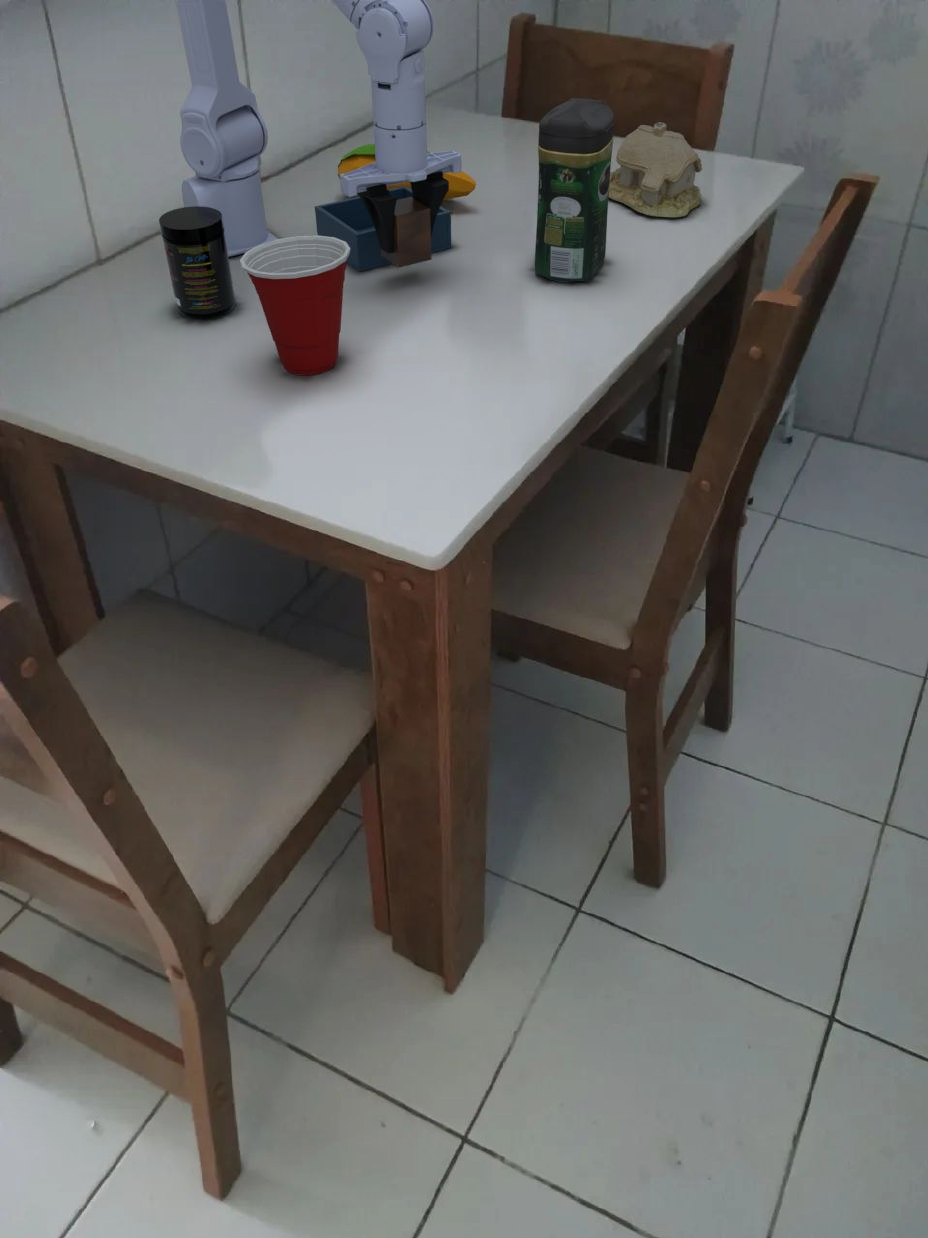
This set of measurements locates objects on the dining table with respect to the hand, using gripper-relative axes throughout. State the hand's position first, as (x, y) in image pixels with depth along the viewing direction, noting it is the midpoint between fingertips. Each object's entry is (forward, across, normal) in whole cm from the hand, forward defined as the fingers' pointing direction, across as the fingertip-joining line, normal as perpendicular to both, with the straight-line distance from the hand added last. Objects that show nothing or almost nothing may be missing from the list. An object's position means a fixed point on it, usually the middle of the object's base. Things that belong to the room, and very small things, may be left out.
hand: (405, 245), depth 124 cm
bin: (+4, +3, +11) cm, 12 cm away
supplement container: (+4, -23, +6) cm, 24 cm away
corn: (+4, +13, +22) cm, 26 cm away
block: (+1, 0, 0) cm, 1 cm away
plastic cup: (+4, -19, -12) cm, 23 cm away
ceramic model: (+4, +41, +4) cm, 41 cm away
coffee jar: (+4, +18, -8) cm, 20 cm away
